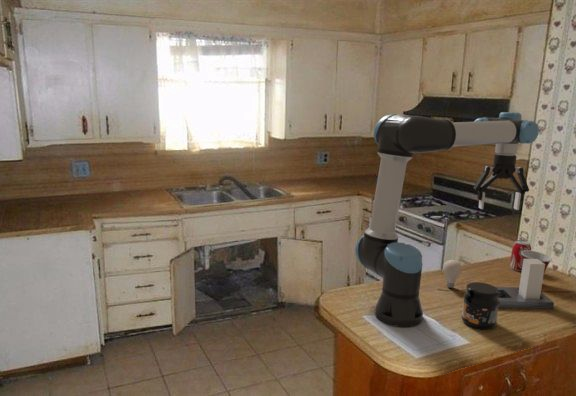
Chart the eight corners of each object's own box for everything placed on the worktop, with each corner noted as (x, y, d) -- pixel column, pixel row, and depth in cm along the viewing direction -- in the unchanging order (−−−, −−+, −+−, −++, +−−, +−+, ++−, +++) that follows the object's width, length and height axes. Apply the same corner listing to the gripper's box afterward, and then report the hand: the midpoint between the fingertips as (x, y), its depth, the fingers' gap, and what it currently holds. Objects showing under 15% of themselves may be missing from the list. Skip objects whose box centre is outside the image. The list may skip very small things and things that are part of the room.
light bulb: (463, 288, 173) (466, 261, 170) (452, 292, 169) (455, 264, 166) (448, 282, 178) (451, 256, 175) (437, 286, 174) (440, 259, 172)
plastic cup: (549, 291, 172) (554, 261, 169) (517, 286, 176) (522, 256, 173) (545, 280, 182) (550, 252, 179) (515, 276, 186) (519, 248, 183)
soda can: (512, 271, 191) (516, 244, 188) (507, 265, 198) (511, 239, 195) (530, 273, 190) (534, 245, 187) (524, 266, 196) (528, 240, 194)
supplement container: (453, 317, 150) (457, 283, 147) (479, 312, 154) (483, 279, 151) (477, 333, 140) (482, 297, 138) (503, 327, 144) (508, 292, 141)
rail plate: (489, 307, 158) (489, 300, 157) (475, 292, 169) (476, 286, 169) (553, 309, 158) (554, 302, 157) (535, 294, 169) (536, 287, 169)
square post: (524, 303, 161) (530, 263, 158) (517, 297, 166) (523, 258, 163) (538, 304, 161) (545, 264, 158) (531, 298, 166) (537, 259, 163)
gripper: (533, 153, 175) (526, 207, 180) (468, 151, 175) (462, 205, 180) (544, 156, 168) (535, 212, 173) (476, 154, 168) (469, 210, 173)
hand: (498, 208), depth 177 cm, fingers open, 13 cm apart
